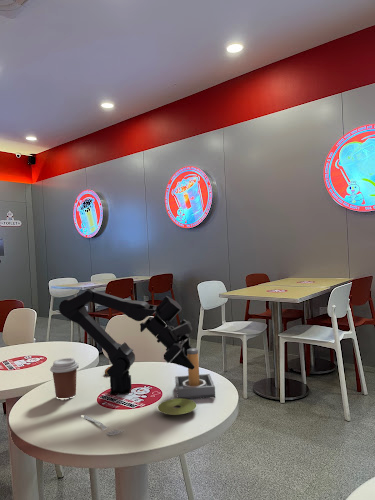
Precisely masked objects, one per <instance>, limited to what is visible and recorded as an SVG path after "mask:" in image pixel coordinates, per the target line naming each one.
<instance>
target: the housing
mask: <svg viewBox="0 0 375 500" xmlns="http://www.w3.org/2000/svg"><path fill="white" fill-rule="evenodd" d="M174 378H175V379H174V380H175V381H174V383H175V390H176V391H175V392H176V399H179V398H182V399H189V400H200V399H201V398H202V399H211V398H210V397H214V398H216V386H215V384H214V381H213V379H212V376H211V375H210V373H204V374H203V373H202V374H199V379H200V386H189V376H188V375H177V376H175V377H174Z"/></svg>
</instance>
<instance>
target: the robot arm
mask: <svg viewBox="0 0 375 500" xmlns="http://www.w3.org/2000/svg"><path fill="white" fill-rule="evenodd" d="M89 303H94V304H97V305H100V306H103V307H106V308H108V309H112V310H115V311H119V312H121V313H123V314H124V315H125V316H127V317H128V318H130V319H132V320H133V321H136V322H141V323H139V326H140V328H139V329H140V333H142V332H144V331H145V330H147V331H148V332H149V333H150V334H152V335H153V337H154V338H156V339H157V340H156V342H157V343H158V344H159V343H161V344H162V345H163V346H164V347H165V352H164V354H163V360H164V361H165V362H166V363H167V364H169V363H170V364H175V365H176V366H177V365H178V366H180V367H183V368H187V369H188V368H189V369H192V370H193V369H194V368H195V367H194V365H193V364H192V362H191V361H190V360H189V359H188V357H187V350H188V349H191V348H193V347H192V346H191V345H192V344H191V343H190V342H191V337H190V334H191V333H192V332H193V330H194V329H193V327H192V323H191V322H190V320H186V319H182V320H180V322H179V325H178V326H176V327H175V326H173V325H169V324H167V323H166V322H172V320H173V319H174V318H175V317H176V316H177V315H178V314H179V313H180V312H181V311H182V310H183V309H182V306H181V305H180V304H179V302H178V301H176V300H174V299H173V298H171V297H170V296H168V295H165V297H163V299H162V301H161V302H160V303H159V304H158V305H154V304H149V302H147V301H142V300H130V299H124V298H122V297H118V296H115V295H112V294H108V293H106V292H102V291H101V290H97V289H95V288H91V289H87V290H85V291H84V292H82V293H80V294H79V295H77V296H73V297H69V298H67V299H64V300H62V301H61V302H60V303H59V305H58V312H59V313H60V314H61V315H62V316H63V317H65V318H66V319H67V320H69V321H71V322H73V323H75V324H77V325H78V326H80V328H81V329H82V330H84V332H85V333H86V334H87V335H88V336H90V338H92V340H93V341H94V342H95V343H97V345H98V346H100V347H101V349H103V350H104V352H105V353H106V354H107V357H108V360H109V362H110V363H111V365H112V366H111V365H110V366H111V367H110V366H109V367H110V368H109V369H108V370H107V373H108V375H107V376H108V378H109V383H110V391H109V395H112V396H113V395H122V394H130V392H131V389H132V375H131V374H130V371H129V370H130V368H131V366H132V365H133V364H134V363H135V360H136V355H135V353H134V349H133V348H131V347H130V346H129V345H128V344H127V343H126V342H123V343H122V344H121V343H118V342H117V341H116V340H115V339H113V337H112V336H111V335H110V334H109V333H108V332H107V331H106V330H104V328H103V327H102V326H101V325H100V324H98V322H97V321H95V319H94V318H93V317H92V316H91V315H89V312H88V309H87V307H86V305H88V304H89ZM155 313H156V314H155ZM154 314H155V315H154ZM153 315H154V316H153ZM152 316H153V317H152ZM146 318H147V319H146ZM145 319H146V320H145ZM144 320H145V321H144ZM142 321H144V322H142ZM128 369H129V370H128Z"/></svg>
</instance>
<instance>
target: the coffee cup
mask: <svg viewBox="0 0 375 500" xmlns="http://www.w3.org/2000/svg"><path fill="white" fill-rule="evenodd" d="M79 364H80V363H78V362H77V361H76V359H75V358H72V357H65V358H58V359H56V360H54V361H53V364H52V366H50V368H49V370H50V372H51V373H52V378H53V386H54V390H55V391H54V392H55V398H56V397H58V398H70V397H73V396H75V395H76V396H77V370H78V368H79ZM76 396H75V397H76Z"/></svg>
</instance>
